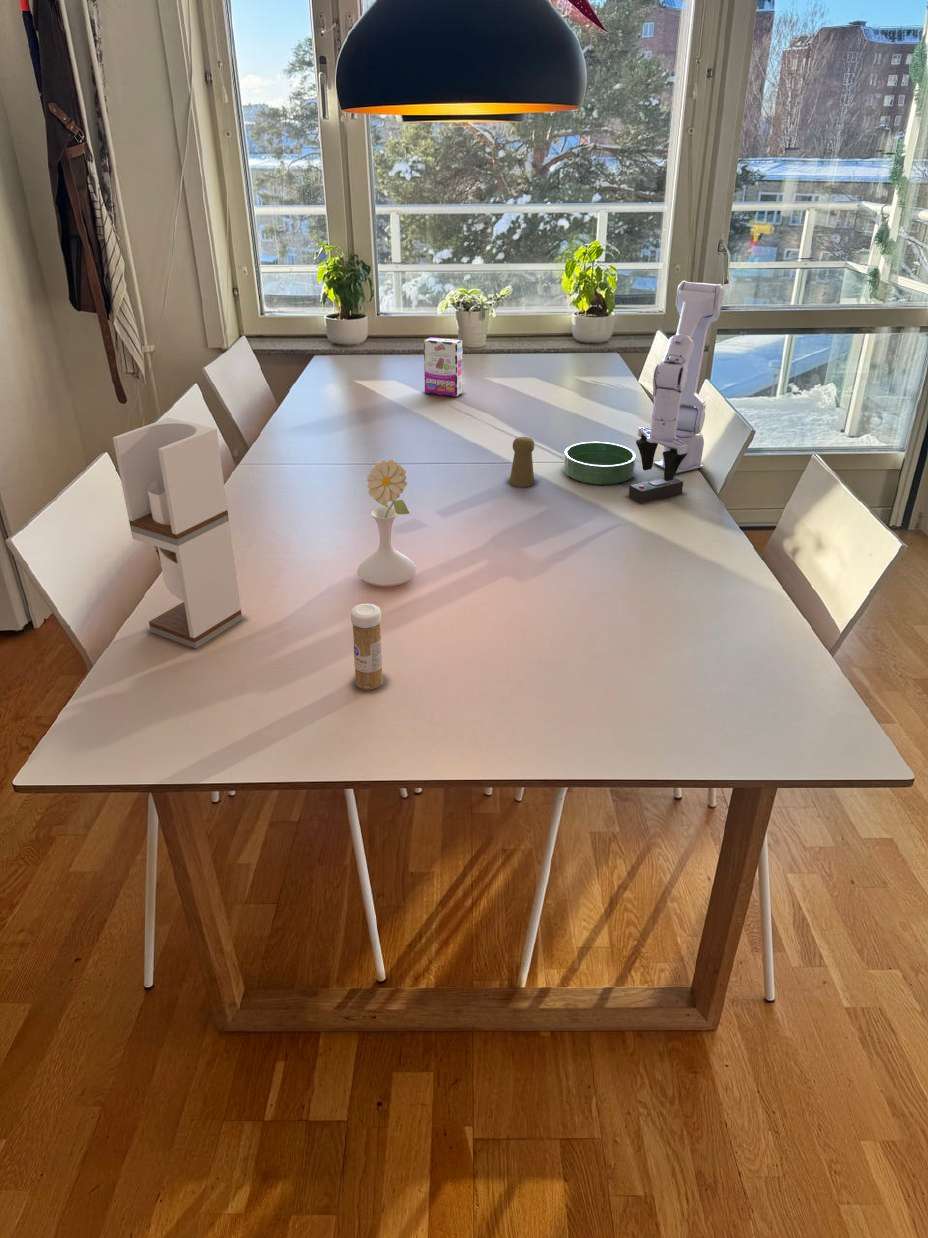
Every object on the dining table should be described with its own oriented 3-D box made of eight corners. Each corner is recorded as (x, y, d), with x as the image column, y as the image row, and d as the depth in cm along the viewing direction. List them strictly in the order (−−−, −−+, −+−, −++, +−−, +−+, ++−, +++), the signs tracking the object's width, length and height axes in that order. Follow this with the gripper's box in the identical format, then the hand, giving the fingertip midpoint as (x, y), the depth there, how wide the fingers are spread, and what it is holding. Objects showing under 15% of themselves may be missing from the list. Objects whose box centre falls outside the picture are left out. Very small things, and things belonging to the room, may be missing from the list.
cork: (532, 487, 214) (534, 443, 209) (507, 485, 215) (509, 441, 210) (536, 478, 219) (538, 435, 214) (511, 476, 220) (513, 433, 215)
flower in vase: (346, 575, 175) (338, 452, 162) (395, 559, 181) (391, 440, 168) (383, 601, 166) (377, 474, 153) (433, 584, 172) (431, 460, 159)
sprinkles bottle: (349, 683, 143) (344, 610, 136) (369, 671, 146) (365, 599, 139) (369, 694, 140) (365, 620, 134) (389, 682, 143) (386, 608, 137)
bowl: (604, 456, 233) (606, 437, 231) (648, 478, 220) (650, 458, 218) (549, 467, 226) (550, 448, 223) (591, 490, 213) (593, 471, 210)
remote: (669, 487, 215) (671, 474, 214) (681, 493, 212) (683, 480, 210) (628, 497, 210) (629, 483, 208) (640, 503, 207) (642, 490, 205)
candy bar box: (463, 393, 281) (463, 339, 273) (456, 397, 277) (457, 343, 269) (430, 389, 285) (430, 336, 276) (423, 393, 281) (423, 339, 272)
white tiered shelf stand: (198, 604, 165) (168, 417, 147) (242, 619, 160) (216, 428, 142) (150, 631, 156) (112, 437, 138) (195, 648, 151) (162, 449, 134)
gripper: (630, 411, 205) (624, 467, 212) (673, 429, 194) (665, 488, 201) (654, 406, 208) (647, 462, 215) (697, 424, 197) (689, 482, 204)
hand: (657, 474), depth 208 cm, fingers open, 7 cm apart
